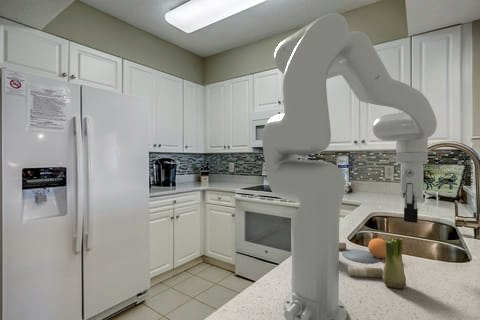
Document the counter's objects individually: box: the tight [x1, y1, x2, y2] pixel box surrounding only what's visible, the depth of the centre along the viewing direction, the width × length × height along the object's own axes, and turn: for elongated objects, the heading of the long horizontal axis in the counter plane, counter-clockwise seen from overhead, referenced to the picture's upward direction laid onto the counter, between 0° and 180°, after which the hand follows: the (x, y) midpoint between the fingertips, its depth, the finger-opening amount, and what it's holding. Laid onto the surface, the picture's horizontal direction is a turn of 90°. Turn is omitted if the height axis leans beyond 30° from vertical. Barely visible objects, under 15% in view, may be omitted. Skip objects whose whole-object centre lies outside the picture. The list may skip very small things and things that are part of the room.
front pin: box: [346, 265, 383, 279], centre depth 68 cm, size 2×2×8 cm
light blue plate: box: [341, 248, 381, 264], centre depth 81 cm, size 11×11×1 cm
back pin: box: [339, 241, 347, 251], centre depth 88 cm, size 2×2×8 cm
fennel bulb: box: [382, 237, 407, 290], centre depth 62 cm, size 6×5×12 cm
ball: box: [367, 237, 387, 259], centre depth 80 cm, size 6×6×6 cm
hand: (410, 221), depth 72 cm, fingers closed
